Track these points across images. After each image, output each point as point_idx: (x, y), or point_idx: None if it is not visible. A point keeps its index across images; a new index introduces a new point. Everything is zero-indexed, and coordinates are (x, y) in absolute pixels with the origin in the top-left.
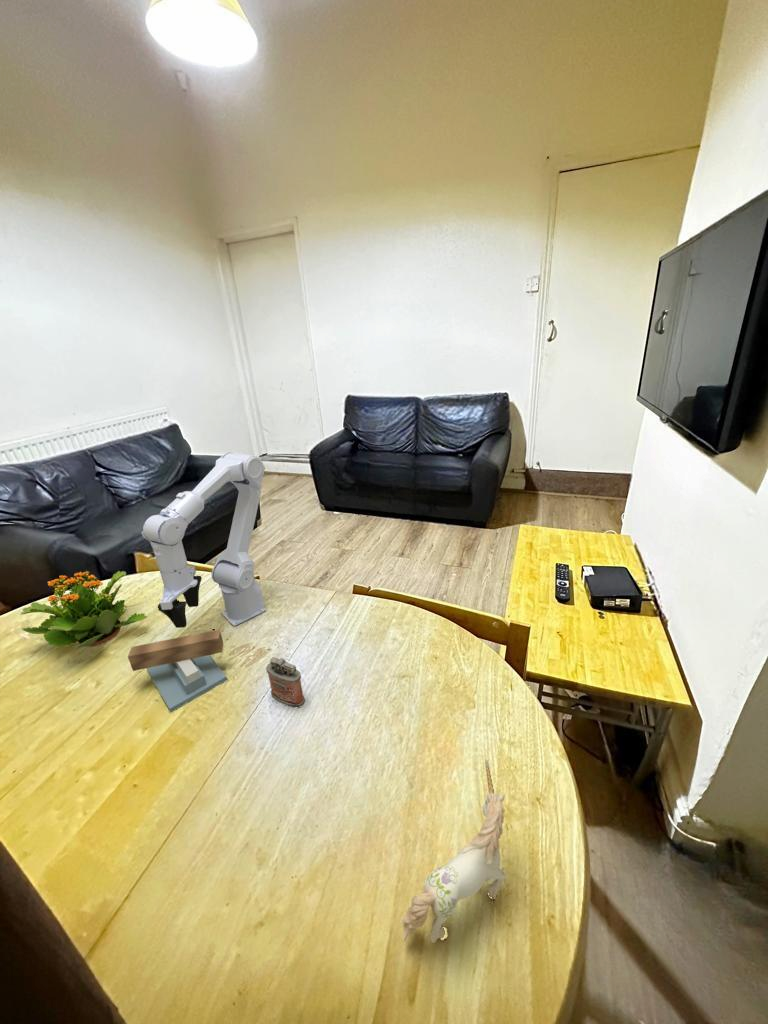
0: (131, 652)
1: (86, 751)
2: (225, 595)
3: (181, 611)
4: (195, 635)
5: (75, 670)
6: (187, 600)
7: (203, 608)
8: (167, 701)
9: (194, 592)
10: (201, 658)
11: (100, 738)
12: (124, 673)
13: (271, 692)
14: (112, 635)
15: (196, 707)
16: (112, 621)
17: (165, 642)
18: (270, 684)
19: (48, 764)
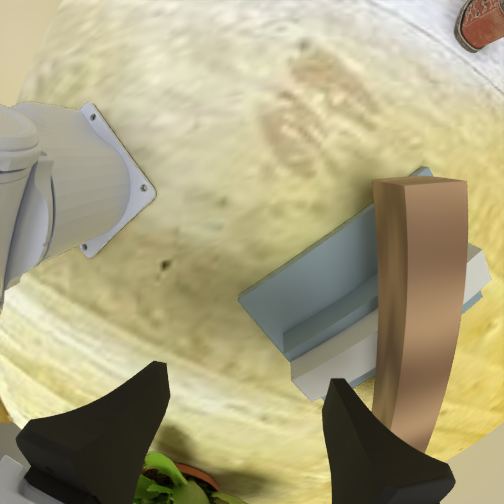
0: None
1: (482, 393)
2: (57, 240)
3: (422, 456)
4: (415, 310)
5: (280, 486)
6: (157, 422)
7: (74, 317)
8: (462, 310)
9: (126, 423)
10: (331, 268)
11: (470, 389)
12: (317, 430)
13: (478, 49)
14: (193, 473)
15: (482, 235)
16: (187, 498)
17: (407, 409)
18: (495, 40)
19: (474, 424)
